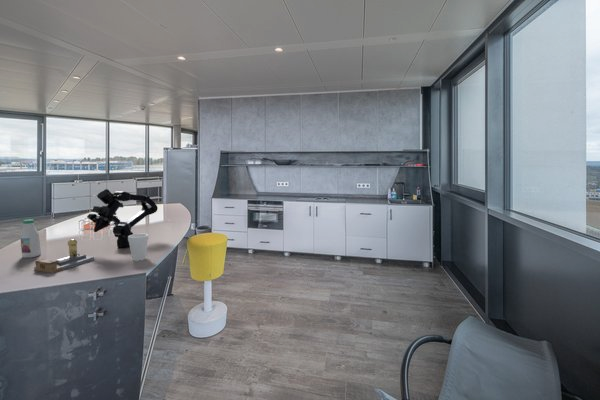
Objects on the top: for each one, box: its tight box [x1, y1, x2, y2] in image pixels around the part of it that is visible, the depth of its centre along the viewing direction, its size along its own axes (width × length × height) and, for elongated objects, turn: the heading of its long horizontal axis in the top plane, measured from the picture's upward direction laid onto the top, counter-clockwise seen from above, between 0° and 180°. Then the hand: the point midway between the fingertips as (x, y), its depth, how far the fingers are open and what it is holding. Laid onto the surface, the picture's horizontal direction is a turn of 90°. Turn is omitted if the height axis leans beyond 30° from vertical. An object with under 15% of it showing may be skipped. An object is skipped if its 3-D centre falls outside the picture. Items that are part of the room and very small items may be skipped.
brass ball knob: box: [55, 238, 78, 263], centre depth 154 cm, size 10×4×10 cm, turn 163°
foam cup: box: [128, 233, 149, 262], centre depth 163 cm, size 10×9×13 cm
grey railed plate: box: [33, 253, 95, 274], centre depth 153 cm, size 21×12×5 cm, turn 163°
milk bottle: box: [20, 218, 42, 259], centre depth 165 cm, size 8×8×20 cm
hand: (94, 231), depth 168 cm, fingers closed
